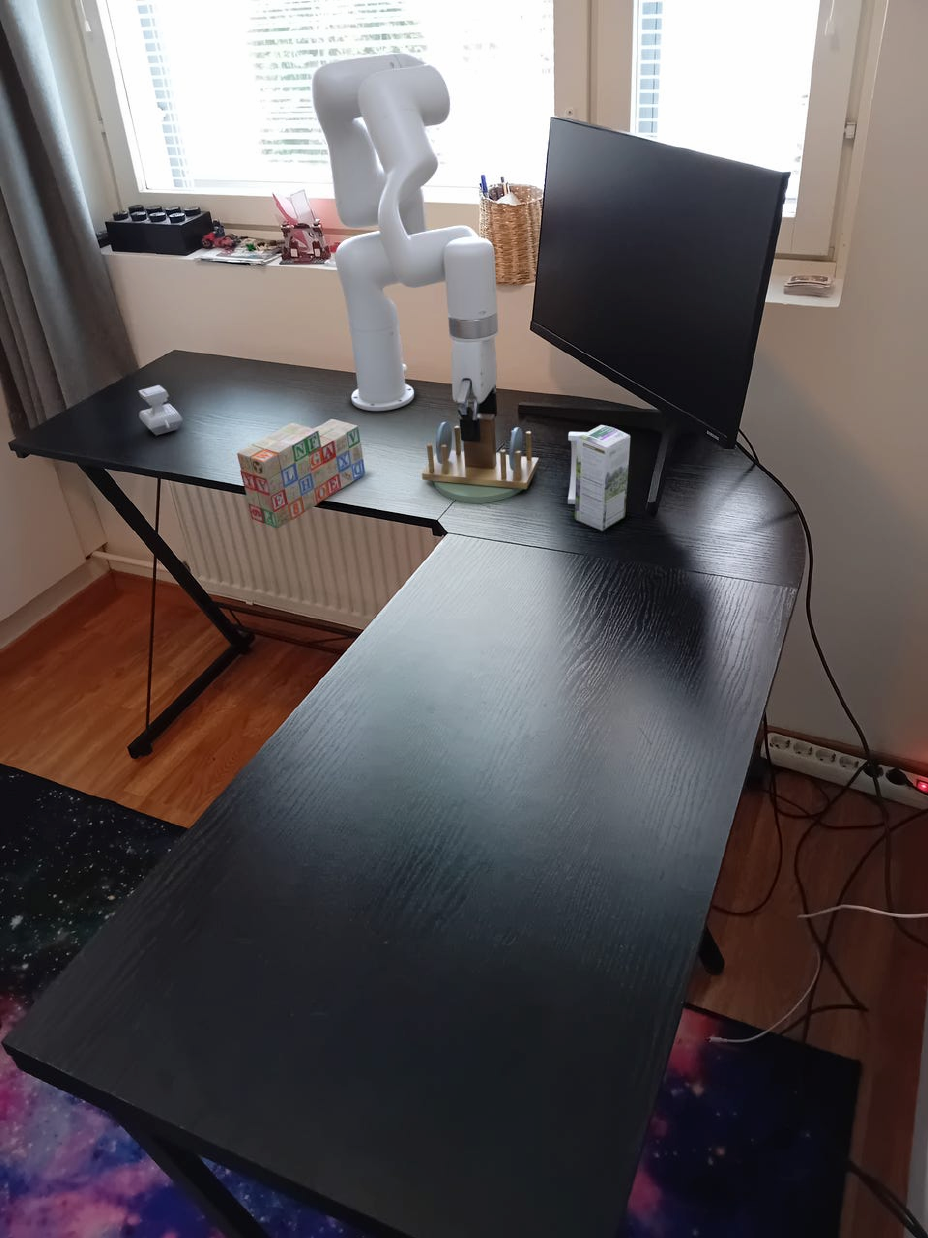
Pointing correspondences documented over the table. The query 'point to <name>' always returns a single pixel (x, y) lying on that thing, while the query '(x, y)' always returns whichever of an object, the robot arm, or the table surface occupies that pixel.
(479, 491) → the turntable
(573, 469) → the white curved piece
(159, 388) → the stamp
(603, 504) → the syrup box
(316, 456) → the stack of blocks
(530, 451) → the plate rack
